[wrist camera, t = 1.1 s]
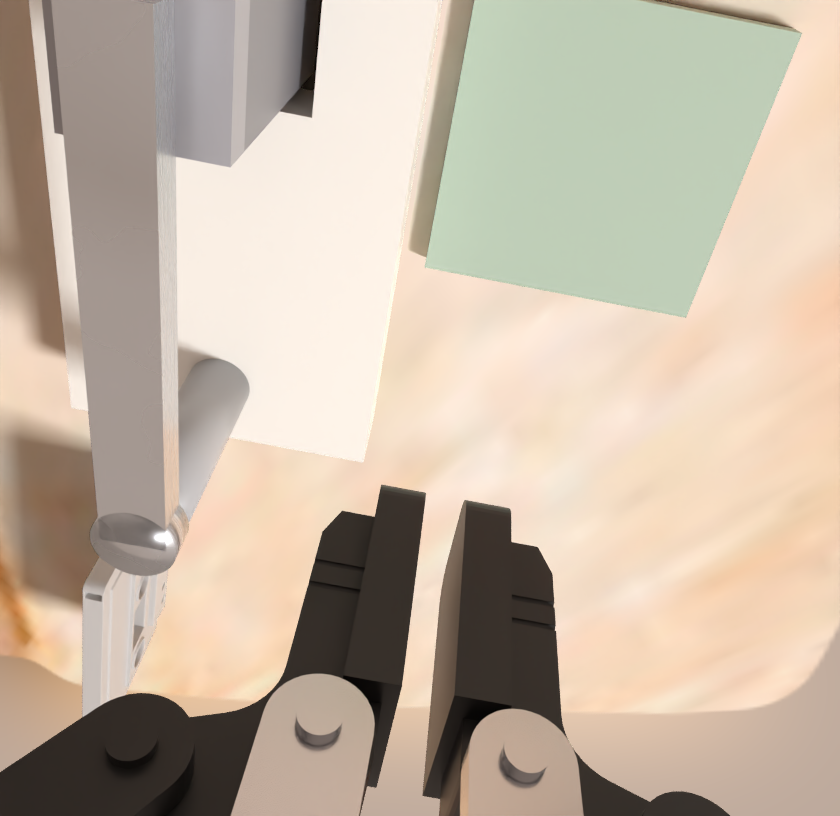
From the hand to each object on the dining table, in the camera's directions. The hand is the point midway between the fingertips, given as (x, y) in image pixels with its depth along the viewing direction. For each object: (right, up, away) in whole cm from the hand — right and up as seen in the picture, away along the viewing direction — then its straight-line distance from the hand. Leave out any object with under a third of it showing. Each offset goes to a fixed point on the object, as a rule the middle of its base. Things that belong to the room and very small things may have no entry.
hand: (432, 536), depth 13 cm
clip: (-8, +4, +8) cm, 12 cm away
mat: (+6, +11, +15) cm, 19 cm away
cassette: (-14, -5, +29) cm, 32 cm away
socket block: (-6, +11, +16) cm, 21 cm away
